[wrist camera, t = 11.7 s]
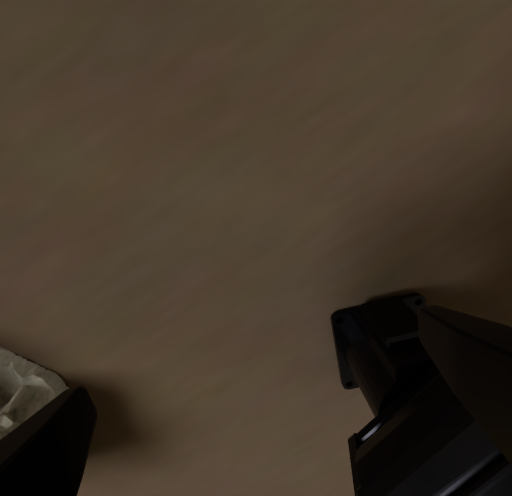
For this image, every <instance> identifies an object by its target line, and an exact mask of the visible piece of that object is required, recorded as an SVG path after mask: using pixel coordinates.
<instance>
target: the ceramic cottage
mask: <svg viewBox="0 0 512 496" xmlns="http://www.w3.org/2000/svg"><path fill="white" fill-rule="evenodd" d="M66 389H69V387H66V384H65V383H64V381H63V380H62V379H61V378H60V377H59V376H58V375H57V374H56V373H54V372H52V371H50V370H45V368H44V367H41V366H39V365H38V364H35V363H32V362H31V361H27V359H24V358H23V357H21V356H20V355H19V356H17V355H15V353H13V352H11V351H9V350H7V349H5V348H2V347H0V440H1V439H2V438H3V437H5V436H6V435H7V434H9V433H10V432H11V431H12V430H14V429H15V428H16V427H18V426H19V425H20V424H22V423H23V422H24V421H25V420H27V419H28V418H29V417H31V416H32V415H33V414H35V413H36V412H37V411H38V410H40V409H41V408H42V407H44V406H45V405H46V404H48V403H49V402H50V401H51V400H53V399H54V398H55V397H57V396H58V395H59V394H61V393H62V392H63V391H65V390H66Z"/></svg>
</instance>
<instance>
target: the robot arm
mask: <svg viewBox="0 0 512 496" xmlns="http://www.w3.org/2000/svg"><path fill="white" fill-rule="evenodd" d="M416 299H418V301H417V302H415V301H416ZM339 317H341V319H340V320H339V321H336V319H337V318H339ZM331 324H332V331H333V337H334V343H335V349H336V355H337V361H338V367H339V373H340V379H341V383H342V385H343V387H344V388H345V389H354V388H358V387H360V389H361V391H362V393H363V395H364V397H365V399H366V401H367V403H368V405H369V406H370V408H371V410H372V412H373V414H374V416H375V418H374V419H373V420H371V421H370V422H369V423H368V424H367V425H366V426H365V427H364V428H363V429H362V430H360V431H359V432H358V433H354V434H353V435H352V436H351V437H350V438H349V439H348V444H349V452H350V460H351V468H352V476H353V484H354V492H355V496H512V327H509V326H506V325H503V324H499V323H496V322H492V321H489V320H485V319H482V318H478V317H475V316H471V315H468V314H464V313H461V312H458V311H454V310H451V309H447V308H444V307H440V306H437V305H431V306H427V307H426V301H425V298H424V297H423V296H422V295H421V294H419V293H412V294H408V295H404V296H400V297H396V296H395V297H391V298H387V299H382V300H378V301H374V302H370V303H366V304H362V305H361V306H357V307H353V308H349V309H345V310H341V311H337V312H334V313H333V314H332V315H331ZM348 381H350V382H349V383H347V382H348ZM96 420H97V410H96V407H95V405H94V403H93V401H92V399H91V397H90V395H89V393H88V391H87V389H86V388H85V387H84V386H77V387H73V388H69V389H66V390H65V391H63V392H62V393H61V394H59V395H58V396H57V397H55V398H54V399H53V400H51V401H50V402H49V403H48V404H46V405H45V406H44V407H42V408H41V409H40V410H38V411H37V412H36V413H35V414H33V415H32V416H31V417H29V418H28V419H27V420H25V421H24V422H23V423H22V424H20V425H19V426H18V427H16V428H15V429H14V430H12V431H11V432H10V433H9V434H7V435H6V436H5V437H3V438H2V439H1V440H0V496H77V493H78V490H79V487H80V484H81V480H82V477H83V473H84V469H85V465H86V461H87V457H88V453H89V449H90V444H91V440H92V436H93V432H94V428H95V424H96Z"/></svg>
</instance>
